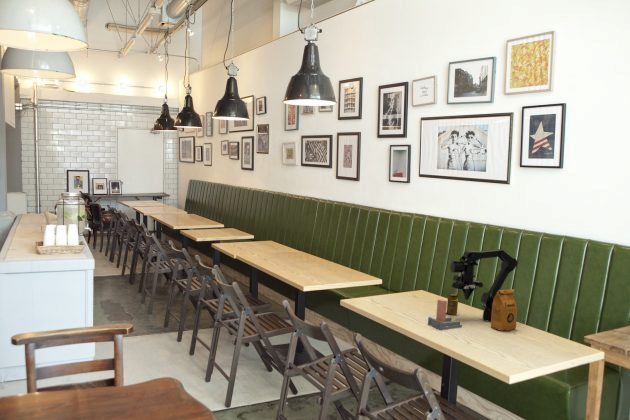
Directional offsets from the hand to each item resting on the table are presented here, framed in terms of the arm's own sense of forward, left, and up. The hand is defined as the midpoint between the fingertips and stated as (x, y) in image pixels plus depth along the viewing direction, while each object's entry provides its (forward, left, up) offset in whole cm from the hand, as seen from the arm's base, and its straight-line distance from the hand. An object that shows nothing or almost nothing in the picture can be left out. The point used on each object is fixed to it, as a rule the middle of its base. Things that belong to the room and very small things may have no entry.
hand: (466, 299), depth 303 cm
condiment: (+9, -8, -12) cm, 17 cm away
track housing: (+9, +18, -12) cm, 23 cm away
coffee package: (-21, +6, -12) cm, 25 cm away
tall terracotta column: (+11, +20, -11) cm, 26 cm away
